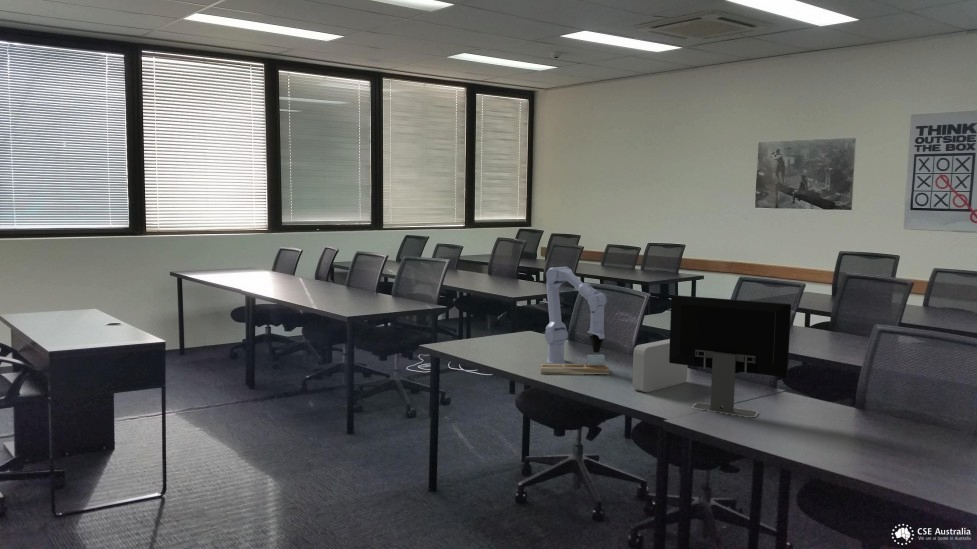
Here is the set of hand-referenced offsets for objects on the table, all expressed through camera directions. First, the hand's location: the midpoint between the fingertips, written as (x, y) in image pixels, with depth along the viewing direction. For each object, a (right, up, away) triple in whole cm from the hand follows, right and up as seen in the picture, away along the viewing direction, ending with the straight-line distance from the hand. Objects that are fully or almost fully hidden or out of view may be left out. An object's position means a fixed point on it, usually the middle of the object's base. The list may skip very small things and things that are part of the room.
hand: (596, 352), depth 317 cm
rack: (-9, -9, +1) cm, 13 cm away
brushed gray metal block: (0, -8, +1) cm, 8 cm away
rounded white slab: (+23, -12, -22) cm, 34 cm away
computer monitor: (+38, -15, -55) cm, 68 cm away
